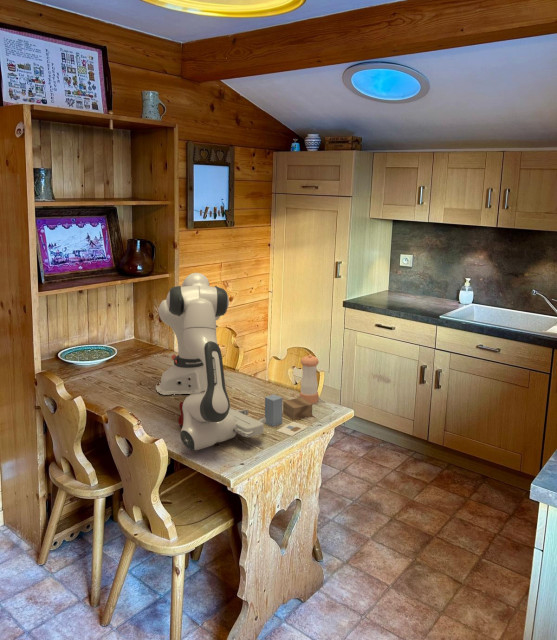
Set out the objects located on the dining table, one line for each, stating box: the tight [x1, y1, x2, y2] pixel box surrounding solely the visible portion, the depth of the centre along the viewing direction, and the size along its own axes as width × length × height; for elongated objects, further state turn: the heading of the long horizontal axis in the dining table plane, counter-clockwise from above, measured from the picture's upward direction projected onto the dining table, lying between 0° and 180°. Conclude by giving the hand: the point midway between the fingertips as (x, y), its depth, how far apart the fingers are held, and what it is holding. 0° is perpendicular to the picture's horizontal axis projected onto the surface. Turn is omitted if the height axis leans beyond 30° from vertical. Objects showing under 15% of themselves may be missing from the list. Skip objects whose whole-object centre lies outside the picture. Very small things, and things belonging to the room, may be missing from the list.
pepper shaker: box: [299, 354, 319, 405], centre depth 242 cm, size 7×7×19 cm
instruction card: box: [276, 420, 310, 437], centre depth 217 cm, size 10×7×1 cm
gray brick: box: [264, 393, 283, 428], centre depth 221 cm, size 4×4×10 cm
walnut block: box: [282, 397, 313, 421], centre depth 230 cm, size 8×8×5 cm
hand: (255, 415), depth 216 cm, fingers open, 8 cm apart
